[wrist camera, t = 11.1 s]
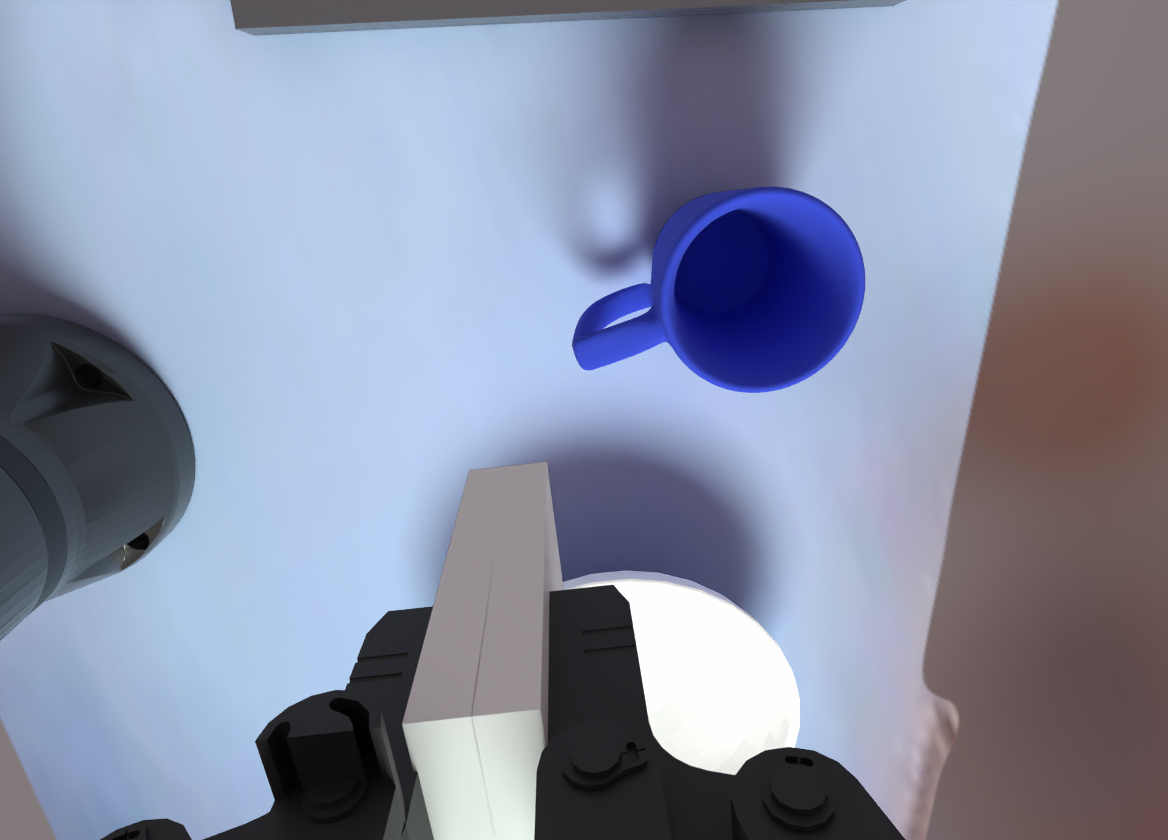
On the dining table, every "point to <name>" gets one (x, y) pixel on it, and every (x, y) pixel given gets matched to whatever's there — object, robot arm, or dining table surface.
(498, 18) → the console
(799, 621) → the dining table surface
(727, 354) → the mug
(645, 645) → the bowl
